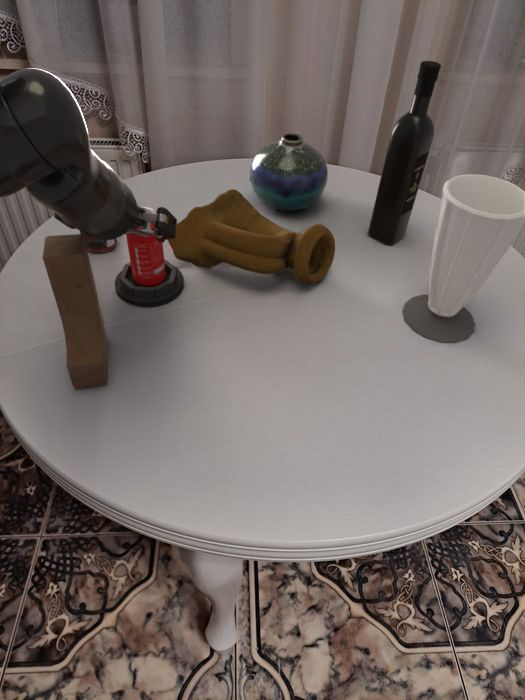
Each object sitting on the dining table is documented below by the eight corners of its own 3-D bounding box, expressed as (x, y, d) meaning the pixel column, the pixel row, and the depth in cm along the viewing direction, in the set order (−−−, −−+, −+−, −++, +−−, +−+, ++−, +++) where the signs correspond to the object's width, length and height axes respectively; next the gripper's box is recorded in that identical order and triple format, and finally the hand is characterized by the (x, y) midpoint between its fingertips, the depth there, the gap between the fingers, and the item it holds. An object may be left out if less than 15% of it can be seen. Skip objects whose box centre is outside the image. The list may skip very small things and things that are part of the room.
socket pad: (141, 316, 78) (139, 304, 76) (102, 282, 83) (99, 270, 81) (197, 288, 83) (197, 275, 82) (158, 257, 89) (156, 245, 87)
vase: (233, 203, 103) (234, 137, 94) (277, 176, 112) (282, 114, 103) (295, 230, 97) (303, 163, 88) (337, 200, 106) (348, 136, 97)
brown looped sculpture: (241, 182, 94) (345, 205, 83) (235, 251, 99) (332, 281, 88) (167, 185, 80) (280, 214, 69) (165, 265, 86) (269, 303, 74)
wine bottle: (406, 236, 98) (457, 64, 76) (390, 247, 95) (438, 72, 73) (381, 224, 100) (424, 55, 79) (365, 235, 97) (404, 62, 76)
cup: (484, 313, 83) (543, 191, 67) (461, 354, 76) (521, 227, 60) (418, 286, 87) (459, 165, 71) (390, 322, 80) (430, 196, 64)
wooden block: (108, 385, 68) (82, 277, 55) (73, 390, 67) (38, 281, 54) (108, 339, 74) (83, 232, 61) (75, 343, 73) (44, 235, 60)
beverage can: (144, 295, 80) (134, 228, 71) (127, 278, 82) (116, 212, 74) (172, 283, 82) (166, 217, 74) (155, 267, 85) (148, 202, 76)
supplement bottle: (122, 249, 90) (112, 190, 82) (89, 258, 87) (75, 198, 79) (111, 232, 93) (101, 174, 85) (79, 240, 91) (65, 181, 83)
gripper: (160, 170, 55) (185, 210, 72) (31, 157, 56) (85, 200, 72) (153, 238, 55) (180, 263, 72) (24, 225, 56) (80, 253, 72)
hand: (132, 232), depth 72 cm, fingers open, 8 cm apart
